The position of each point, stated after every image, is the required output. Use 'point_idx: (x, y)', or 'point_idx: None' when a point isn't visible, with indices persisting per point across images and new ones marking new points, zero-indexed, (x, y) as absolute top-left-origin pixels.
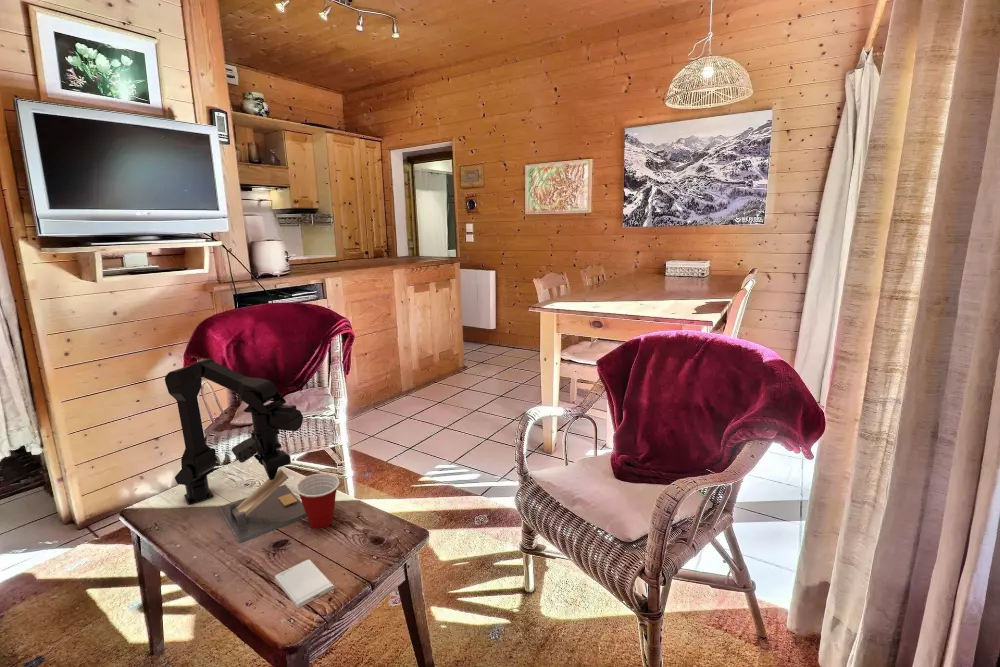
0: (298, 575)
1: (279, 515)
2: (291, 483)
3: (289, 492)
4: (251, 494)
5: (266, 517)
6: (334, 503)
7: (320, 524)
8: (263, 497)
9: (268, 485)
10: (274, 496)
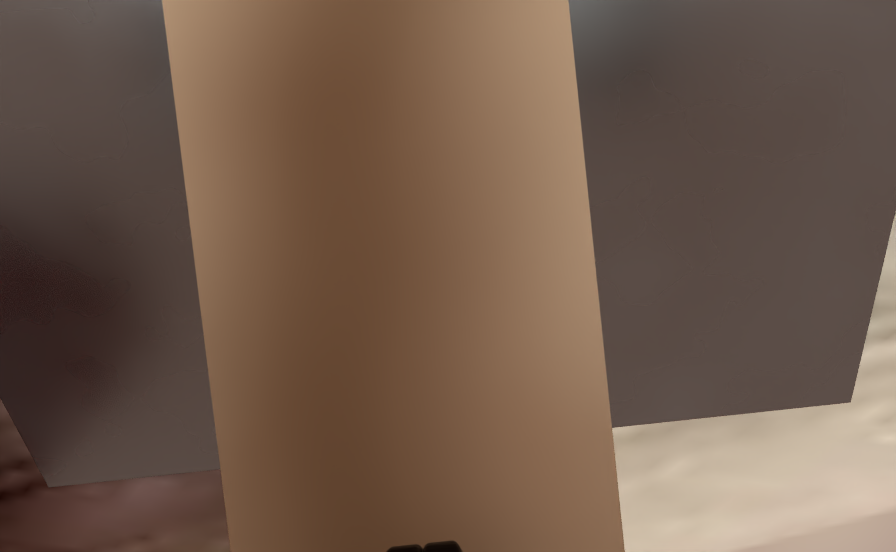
0: None
1: (115, 236)
2: (864, 432)
3: (621, 408)
4: (561, 34)
5: (141, 88)
6: None
7: None
8: (200, 224)
9: (395, 422)
10: (659, 264)
